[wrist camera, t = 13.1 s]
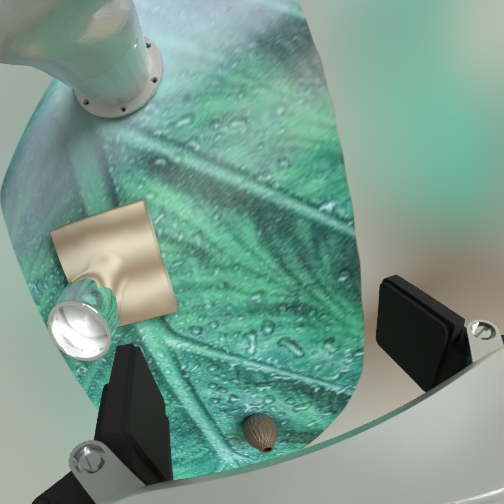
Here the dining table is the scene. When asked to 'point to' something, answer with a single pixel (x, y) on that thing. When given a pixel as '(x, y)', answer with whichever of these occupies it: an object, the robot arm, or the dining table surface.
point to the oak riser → (126, 246)
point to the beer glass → (90, 308)
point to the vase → (260, 432)
